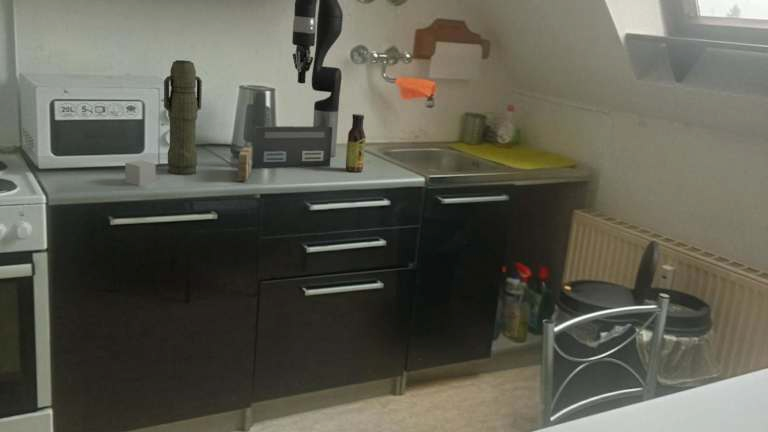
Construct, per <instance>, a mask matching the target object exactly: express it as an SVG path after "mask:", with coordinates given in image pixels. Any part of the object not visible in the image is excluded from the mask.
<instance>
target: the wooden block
mask: <svg viewBox="0 0 768 432" xmlns="http://www.w3.org/2000/svg"><path fill="white" fill-rule="evenodd" d="M237 167H238V168H237V169H238V171H237V181H239V182H247V180H248V178H249V175H250V173H251V172H252V170H253V145H243V148H241V151H240V152H239V154H238V165H237Z"/></svg>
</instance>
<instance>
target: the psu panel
mask: <svg viewBox="0 0 768 432" xmlns="http://www.w3.org/2000/svg"><path fill="white" fill-rule="evenodd" d="M331 142H332V127H313V126H288V125H287V126H286V125H285V126H281V125H280V126H277V125H275V126H258V125H257V126H253V145H252V146H253V156H252V169H273V168H274V169H281V168H284V169H285V168H316V167H317V168H319V167H322V168H323V167H330V166H331V158H332V157H331Z"/></svg>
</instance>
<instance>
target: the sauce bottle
mask: <svg viewBox="0 0 768 432" xmlns="http://www.w3.org/2000/svg"><path fill="white" fill-rule="evenodd" d="M351 117H352V124H351V126H352V127H351V129H349V130H348V134H347V140H346V141H347V142H346V143H347V144H346V153H345V154H346V156H345V170H346V171H347V172H352V173H359V172H362V171H363V168H364V161H365V149H366V134H365V131H364V119H365V115H364V114H361V113H353V114H352V116H351Z"/></svg>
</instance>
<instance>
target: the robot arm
mask: <svg viewBox="0 0 768 432" xmlns="http://www.w3.org/2000/svg"><path fill="white" fill-rule="evenodd" d="M317 4H318V11H317ZM340 5H341V4H340V3H339V0H319V1H318V0H294V16H293V22H292V36H291V37H292V40H291V41H292V43H291V44H292V45H294V46H296V48H295V53H292V59H293V64H294V68H295V70H296V71H297V83H298V84H306V73H307V72H309V71H310V69H311V66H313V67H312V73H311V87H312V90H313V91H316V92H322V93H323V92H325V93H330V95H329V96H328V97H326V98H325V99H320V100H317V101H315V102H314V104H313V105H314V107H313V119H312V120H313V122H312V127H332V142H331V157H330V158H333V157H336V156H337V154H336V153H337V152H336V150H337V138H338V123H339V108H340V107H339V105H340V93H341V86H342V85H341V84H342V80H343V79H342V75H343V74H342V70H341V69H340V68H339V67H333V66H324V62H325V58H326V56H327V54H328V52H329V50H331V48H332V46H333V45H334V43H335V42H336V41H337V40H338V38H339V37H340V35H341V34H342V31H343V30H342V29H343V20H344V19H343V18H344V16H343V15H344V14H343V9H342V7H341V6H340ZM316 12H317V20H316ZM316 21H317V22H316ZM314 46H315V52H314V57H313V56H311V47H314ZM312 63H313V65H312Z"/></svg>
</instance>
